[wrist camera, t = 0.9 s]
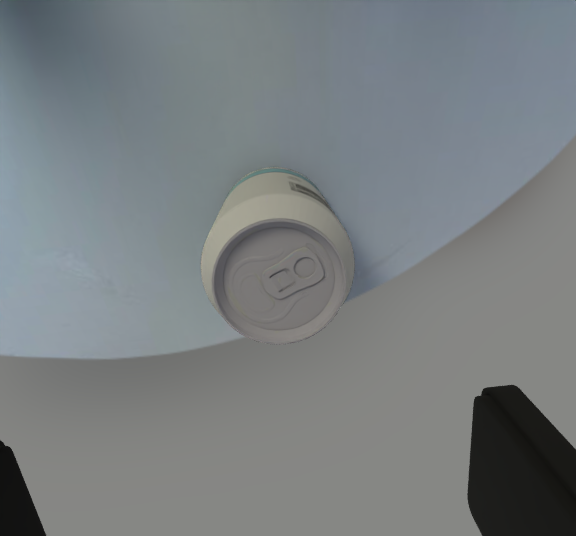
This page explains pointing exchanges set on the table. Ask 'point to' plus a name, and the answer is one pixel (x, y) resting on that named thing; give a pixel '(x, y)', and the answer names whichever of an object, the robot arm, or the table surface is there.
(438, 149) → the table surface
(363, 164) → the table surface
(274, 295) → the beverage can
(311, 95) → the table surface
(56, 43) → the table surface
